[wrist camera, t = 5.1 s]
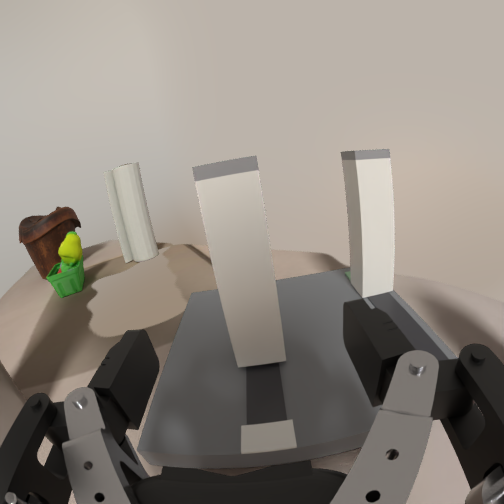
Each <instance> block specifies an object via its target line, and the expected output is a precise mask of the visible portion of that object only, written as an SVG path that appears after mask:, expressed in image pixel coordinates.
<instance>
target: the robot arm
mask: <svg viewBox="0 0 504 504" xmlns="http://www.w3.org/2000/svg"><path fill="white" fill-rule="evenodd" d="M343 340H344V345H345V348H346V350H347V352H348V355H349V357H350V359H351V361H352V363H353V365H354V367H355V370H356V372H357V374H358V376H359V378H360V380H361V383H362V385H363V387H364V389H365V391H366V394H367V396H368V398H369V400H370V403H371V405H372V407H376V406H379V405H382V407H381V408H380V409H379V411H378V413H377V416H376V418H375V420H374V423H373V425H372V427H371V430H370V432H369V434H368V436H367V438H366V440H365V442H364V445H363V447H362V449H361V451H360V453H359V455H358V456H357V458H356V460H355V462H354V464H353V466H352V468H351V470H350V471H349V473H348V475H346V474H344V473H341V472H337V471H333V470H328V469H317V468H312V466H311V461H310V460H308V461H302V462H296V463H289V464H282V465H274V466H270V467H266V468H263V469H260V470H256V471H253V472H249V473H245V474H242V475H238V476H227V475H222V474H217V473H213V472H208V471H204V470H200V469H196V468H180V467H168V466H163V468H162V473H161V475H157V476H152V477H150V476H149V475H148V474H147V472H146V471H145V469H144V468H143V466H142V464H141V462H140V460H139V458H138V456H137V454H136V452H135V450H134V448H133V446H132V444H131V442H130V440H129V438H128V436H127V435H126V434H125V433H126V430H127V429H135V430H139V427H140V424H141V421H142V418H143V415H144V412H145V409H146V406H147V403H148V400H149V398H150V395H151V392H152V389H153V386H154V384H155V381H156V378H157V375H158V373H159V360H158V357H157V355H156V353H155V350H154V348H153V346H152V343H151V341H150V339H149V336H148V334H147V332H146V331H145V330H143V329H142V330H128V331H126V332H125V334H124V336H123V337H122V339H121V340H120V342H118V343H117V344H116V345H115V346H113V347H112V348H111V349H110V350H109V352H108V353H107V355H106V357H105V359H104V360H103V361H102V363H101V366H99V368H98V370H97V371H96V373H95V375H94V376H93V378H92V380H91V381H90V383H89V385H88V386H87V387H81V388H77V389H75V390H73V391H72V392H71V393H69V394H68V396H67V397H66V399H65V401H64V402H56V403H53V402H52V401H51V400H50V398H49V397H48V396H47V395H46V394H44V393H37V394H35V395H33V396H31V397H30V398H29V399H28V400H26V399H25V397H24V396H23V394H22V393H21V392H20V390H19V389H18V387H17V386H16V384H15V383H14V381H13V380H12V378H11V377H10V375H9V374H8V372H7V370H6V369H5V367H4V366H3V364H2V362H1V361H0V504H68V502H69V498H70V495H71V491H72V490H73V493H74V496H75V500H76V503H77V504H406V501H407V499H408V497H409V494H410V492H411V489H412V487H413V484H414V482H415V479H416V476H417V474H418V471H419V468H420V465H421V462H422V459H423V456H424V452H425V449H426V446H427V442H428V438H429V434H430V431H431V426H432V421H433V420H438V419H440V421H441V423H442V425H443V427H444V429H445V431H446V433H447V435H448V437H449V439H450V441H451V443H452V446H453V448H454V450H455V452H456V455H457V457H458V459H459V461H460V464H461V466H462V468H463V471H464V473H465V476H466V478H467V481H468V483H469V486H470V489H471V491H470V492H469V494H468V495H467V497H466V500H465V504H504V365H503V363H502V362H501V361H500V360H499V359H498V358H497V356H496V355H495V354H494V353H493V352H492V351H491V350H490V349H489V348H488V347H486V346H484V345H481V344H470V345H467V346H465V347H464V348H463V349H462V350H461V352H460V355H459V358H457V359H449V360H440V361H437V359H436V358H435V357H434V356H433V355H432V354H430V353H428V352H426V351H421V350H416V349H415V348H414V347H413V345H412V344H411V343H410V342H409V340H408V339H407V338H406V336H405V335H404V334H403V333H402V331H401V330H400V329H398V326H397V325H396V324H395V323H394V322H393V320H392V319H391V318H390V316H389V315H388V314H387V313H386V312H384V311H382V310H380V309H378V308H373V309H371V308H370V307H369V305H368V304H367V303H366V301H365V300H364V299H363V298H361V299H356V300H352V301H347V302H344V305H343ZM476 404H477V405H476ZM478 407H479V408H478ZM479 409H480V410H479ZM481 412H482V413H481ZM482 414H483V415H482ZM45 436H46V438H47V439H48V440H49V441H50V442H51V443H52V444H53V446H52V448H51V451H50V453H49V455H48V458H47V460H46V463H45V465H44V466H43V465H41V464H40V462H39V461H38V458H37V452H38V449H39V447H40V445H41V443H42V441H43V439H44V437H45Z"/></svg>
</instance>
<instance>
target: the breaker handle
mask: <svg viewBox="0 0 504 504" xmlns="http://www.w3.org/2000/svg"><path fill="white" fill-rule="evenodd" d="M193 174H194V179H195V184H196V189H197V195H198V200H199V205H200V209H201V215H202V219H203V224H204V229H205V234H206V238H207V243H208V248H209V252H210V257H211V261H212V266H213V270H214V274H215V279H216V283H217V287H218V291H219V295H220V300H221V304H222V308H223V312H224V316H225V320H226V324H227V328H228V332H229V335H230V339H231V343H232V347H233V351H234V354H235V358H236V362H237V365H238V367H247V366H254V365H262V364H269V363H276V362H282V361H286V355H285V347H284V339H283V331H282V324H281V316H280V309H279V302H278V294H277V287H276V280H275V273H274V266H273V260H272V253H271V246H270V240H269V233H268V226H267V220H266V214H265V207H264V201H263V194H262V188H261V182H260V176H259V169H258V163H257V157H256V156H251V157H245V158H239V159H233V160H227V161H222V162H216V163H211V164H207V165H201V166H197V167H193Z"/></svg>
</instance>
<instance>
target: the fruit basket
mask: <svg viewBox="0 0 504 504" xmlns="http://www.w3.org/2000/svg"><path fill="white" fill-rule="evenodd" d="M58 254H59V255H60V257H61V258H62V259H61V262H60V263H58V264H56V265H54V267H53V268H52V270H51V271H50V273H49V274H48V276H47V277H46V278H47V280H48V281H49V282H50V283H51V284H52V286H53V287H54V289H55V290H56V292H57V293H58V295H59V296H60V297H61V298H63V297H65V296H68V295H71V294H74V293H76V292H79V291H82V287H83V283H84V278H85V277H84V268H83V255H82V248H81V241H80V238H79V236H78V235H77V233H76V232H73V231H72V232H68V233H67V235H66V238H65V240H64V241H63V242H62V244H61V246H60V248H59V250H58Z"/></svg>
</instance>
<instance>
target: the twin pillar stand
mask: <svg viewBox="0 0 504 504" xmlns="http://www.w3.org/2000/svg"><path fill="white" fill-rule="evenodd" d="M341 156H342V163H343V172H344V181H345V190H346V200H347V213H348V226H349V244H350V267H349V268H344V269H338V270H333V271H327V272H322V273H316V274H310V275H305V276H299V277H293V278H287V279H281V280H276V287H277V294H278V302H279V309H280V316H281V324H282V331H283V339H284V347H285V355H286V361H282V362H276V363H269V364H262V365H254V366H247V367H238V365H237V362H236V358H235V354H234V351H233V347H232V343H231V339H230V335H229V332H228V328H227V324H226V320H225V316H224V312H223V308H222V304H221V300H220V295H219V291H218V289H216V290H209V291H202V292H195V293H192V294H191V296H190V299H189V301H188V304H187V306H186V309H185V312H184V314H183V317H182V320H181V322H180V325H179V327H178V330H177V333H176V335H175V338H174V341H173V344H172V346H171V349H170V352H169V355H168V357H167V360H166V363H165V366H164V369H163V371H162V374H161V377H160V380H159V383H158V386H157V389H156V392H155V395H154V398H153V401H152V404H151V407H150V410H149V413H148V416H147V419H146V422H145V425H144V428H143V432H142V435H141V438H140V441H139V444H138V448H137V451H138V452H139V453H140V454H141V455H142V456H143V458H144V459H145V460H146V461H147V462H148V463H149V464H151V465H159V466H169V467H183V468H246V467H259V466H269V465H278V464H286V463H292V462H299V461H305V460H310V459H315V458H320V457H325V456H329V455H334V454H338V453H342V452H346V451H349V450H353V449H356V448H360V447H363V445H364V442H365V440H366V438H367V436H368V434H369V432H370V430H371V427H372V425H373V423H374V420H375V418H376V416H377V413H378V411H379V409H380V408H381V407H382V405H379V406H376V407H372V405H371V403H370V400H369V398H368V396H367V394H366V391H365V389H364V387H363V385H362V383H361V380H360V378H359V376H358V374H357V372H356V370H355V367H354V365H353V363H352V361H351V359H350V357H349V355H348V352H347V350H346V348H345V345H344V340H343V305H344V302H347V301H352V300H356V299H361V298H363V299H364V300H365V301H366V303H367V304H368V305H369V307H370V308H371V309H373V308H378V309H380V310H382V311H384V312H386V313H387V314H388V315H389V316H390V318H391V319H392V320H393V322H394V323H395V324H396V325H397V326H398V329H400V330H401V331H402V333H403V334H404V335H405V336H406V338H407V339H408V340H409V342H410V343H411V344H412V345H413V347H414V348H415V349H416V350H421V351H426V352H428V353H430V354H432V355H433V356H434V357H435V358H436V359H437V361H440V360H449V359H457V357H456V356H455V354H454V353H453V352H452V351H451V350H450V349H449V348H448V346H447V345H446V344H445V343H444V342H443V341H442V340H441V339H440V338H439V337H438V335H437V334H436V333H435V332H434V331H433V330H432V329H431V328H430V327H429V326H428V325H427V324H426V323H425V322H424V320H423V319H422V318H421V317H420V316H419V315H418V314H417V313H416V312H415V311H414V310H413V309H412V308H411V307H410V306H409V305H408V304H407V303H406V302H405V301H404V300H403V299H402V298H401V297H400V296H399V295H398V294H397V293H396V292H395V291H394V290H393V279H394V253H395V227H394V226H395V223H394V197H393V182H392V171H391V160H390V152H389V149H382V150H362V151H361V150H360V151H345V152H341Z"/></svg>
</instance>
